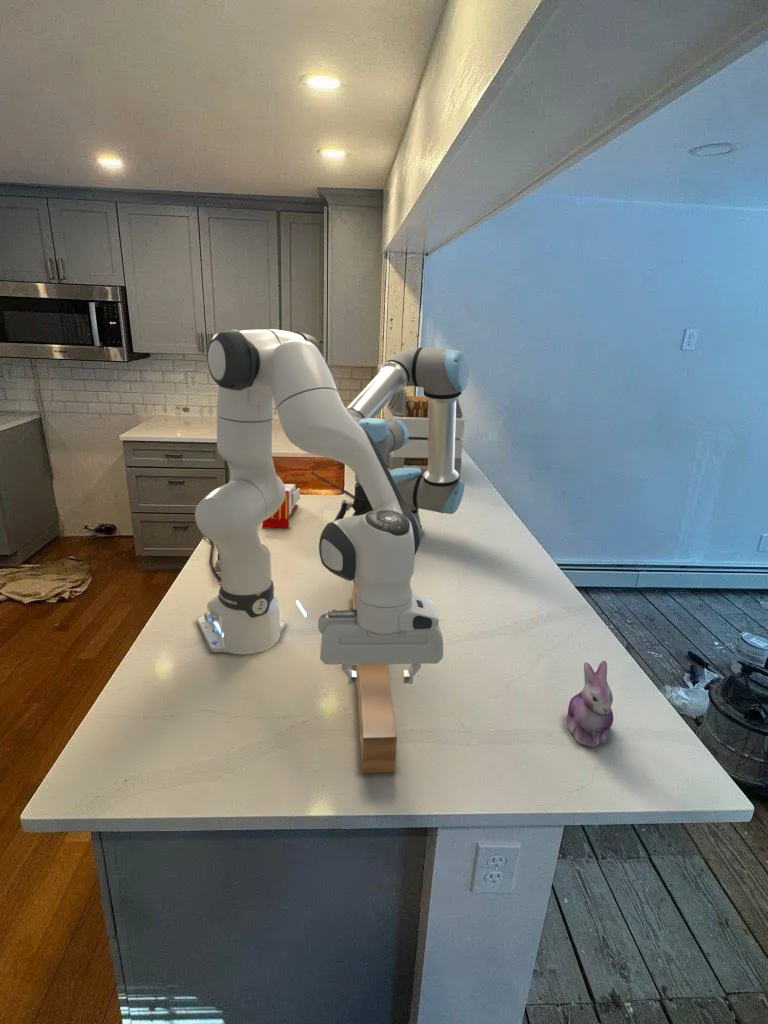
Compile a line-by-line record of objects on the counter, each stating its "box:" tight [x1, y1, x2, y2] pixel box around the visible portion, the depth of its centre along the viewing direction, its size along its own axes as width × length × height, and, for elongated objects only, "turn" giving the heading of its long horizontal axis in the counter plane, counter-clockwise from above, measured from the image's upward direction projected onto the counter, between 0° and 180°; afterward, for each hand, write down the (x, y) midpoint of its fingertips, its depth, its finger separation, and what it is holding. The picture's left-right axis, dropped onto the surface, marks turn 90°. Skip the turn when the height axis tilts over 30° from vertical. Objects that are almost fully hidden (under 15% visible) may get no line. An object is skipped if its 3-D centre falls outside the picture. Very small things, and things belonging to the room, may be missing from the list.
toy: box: [262, 483, 301, 530], centre depth 210 cm, size 12×13×30 cm
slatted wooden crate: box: [385, 388, 465, 480], centre depth 268 cm, size 34×33×41 cm
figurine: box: [566, 660, 614, 748], centre depth 106 cm, size 9×10×15 cm
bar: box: [351, 580, 398, 774], centre depth 124 cm, size 60×6×8 cm, turn 5°
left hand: (379, 682), depth 96 cm, fingers open, 8 cm apart
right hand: (367, 562), depth 145 cm, fingers open, 13 cm apart
